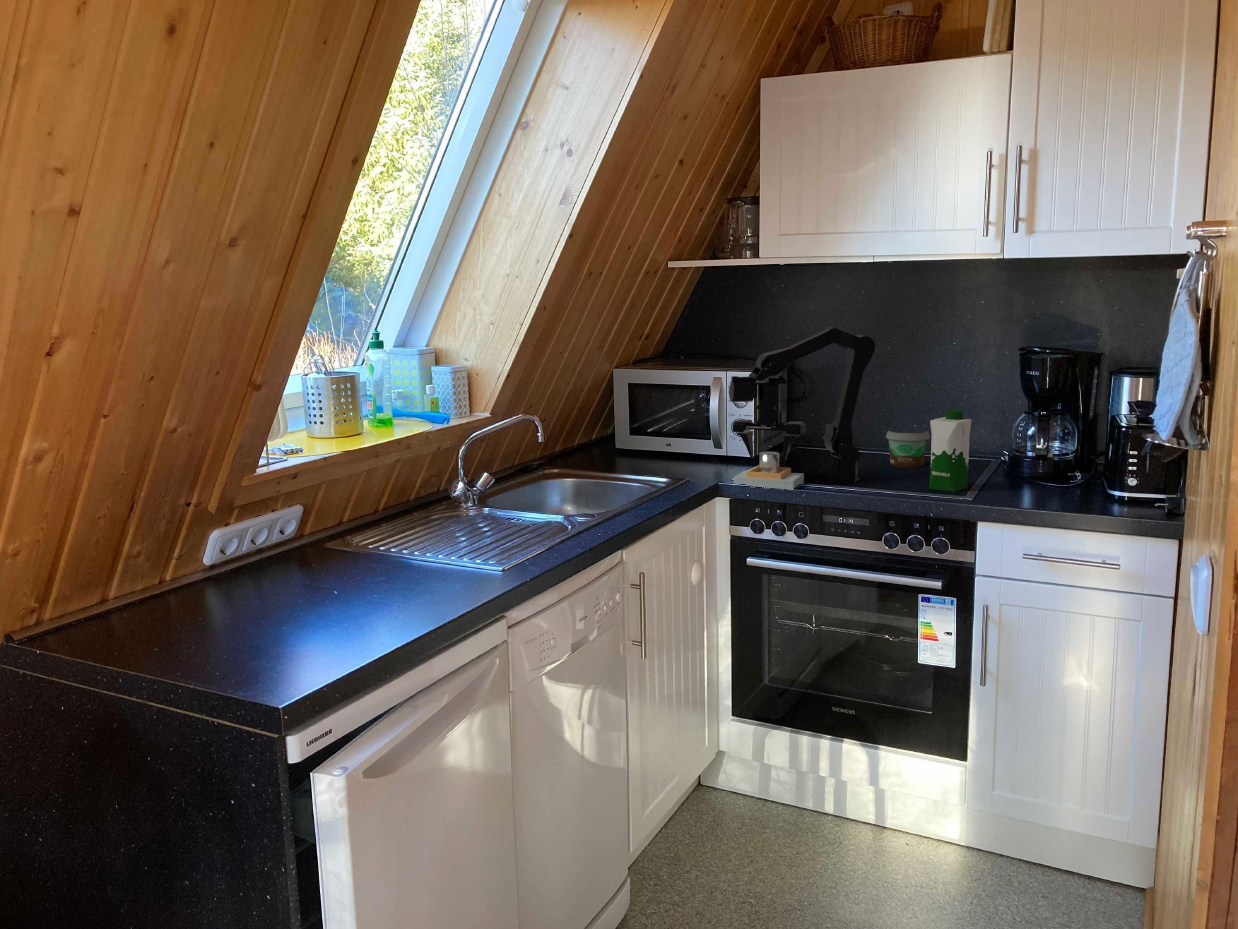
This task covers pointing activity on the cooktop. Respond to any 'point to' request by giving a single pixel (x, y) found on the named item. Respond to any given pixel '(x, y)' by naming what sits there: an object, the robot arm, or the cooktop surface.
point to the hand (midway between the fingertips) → (768, 458)
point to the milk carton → (950, 452)
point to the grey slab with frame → (770, 478)
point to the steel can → (769, 462)
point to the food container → (907, 448)
